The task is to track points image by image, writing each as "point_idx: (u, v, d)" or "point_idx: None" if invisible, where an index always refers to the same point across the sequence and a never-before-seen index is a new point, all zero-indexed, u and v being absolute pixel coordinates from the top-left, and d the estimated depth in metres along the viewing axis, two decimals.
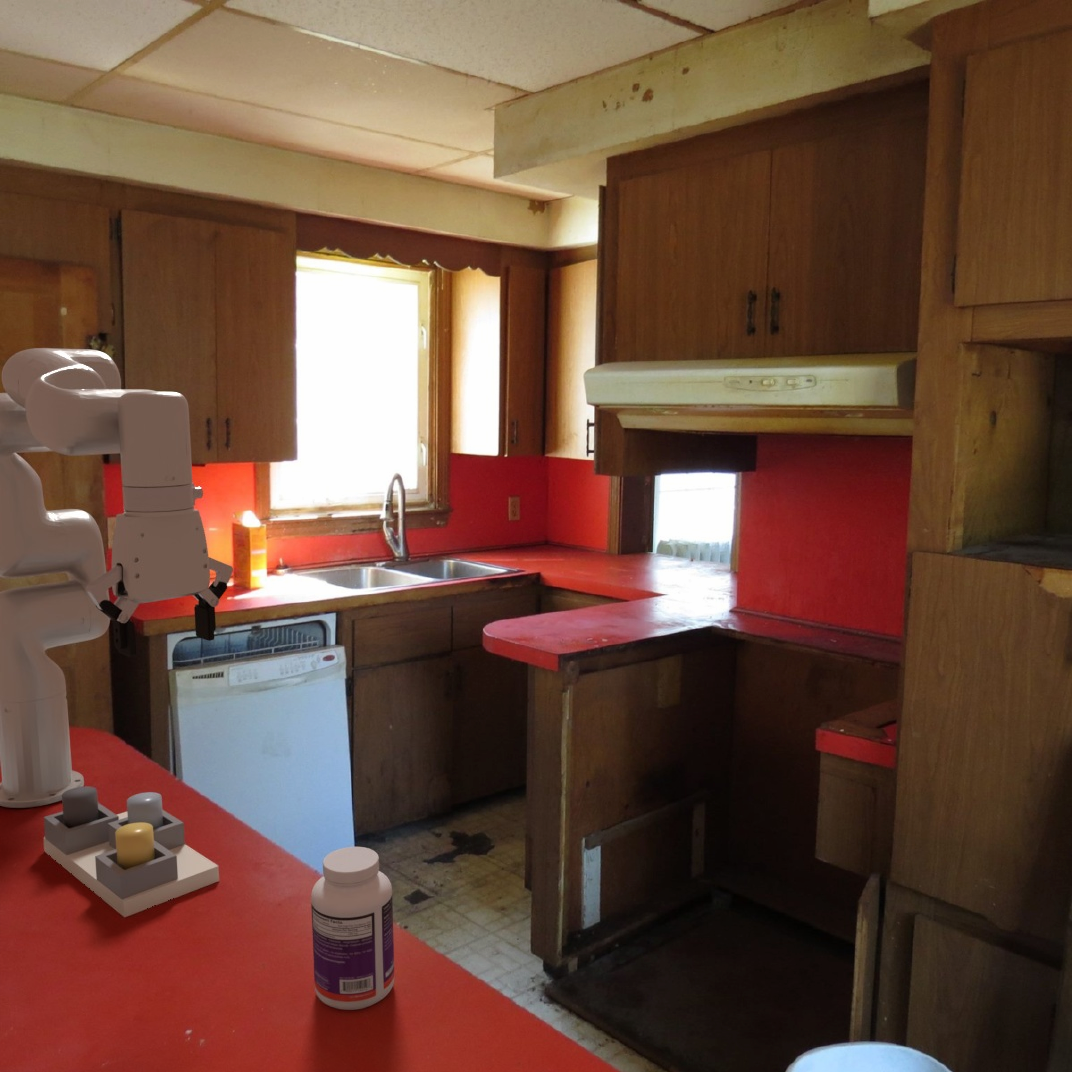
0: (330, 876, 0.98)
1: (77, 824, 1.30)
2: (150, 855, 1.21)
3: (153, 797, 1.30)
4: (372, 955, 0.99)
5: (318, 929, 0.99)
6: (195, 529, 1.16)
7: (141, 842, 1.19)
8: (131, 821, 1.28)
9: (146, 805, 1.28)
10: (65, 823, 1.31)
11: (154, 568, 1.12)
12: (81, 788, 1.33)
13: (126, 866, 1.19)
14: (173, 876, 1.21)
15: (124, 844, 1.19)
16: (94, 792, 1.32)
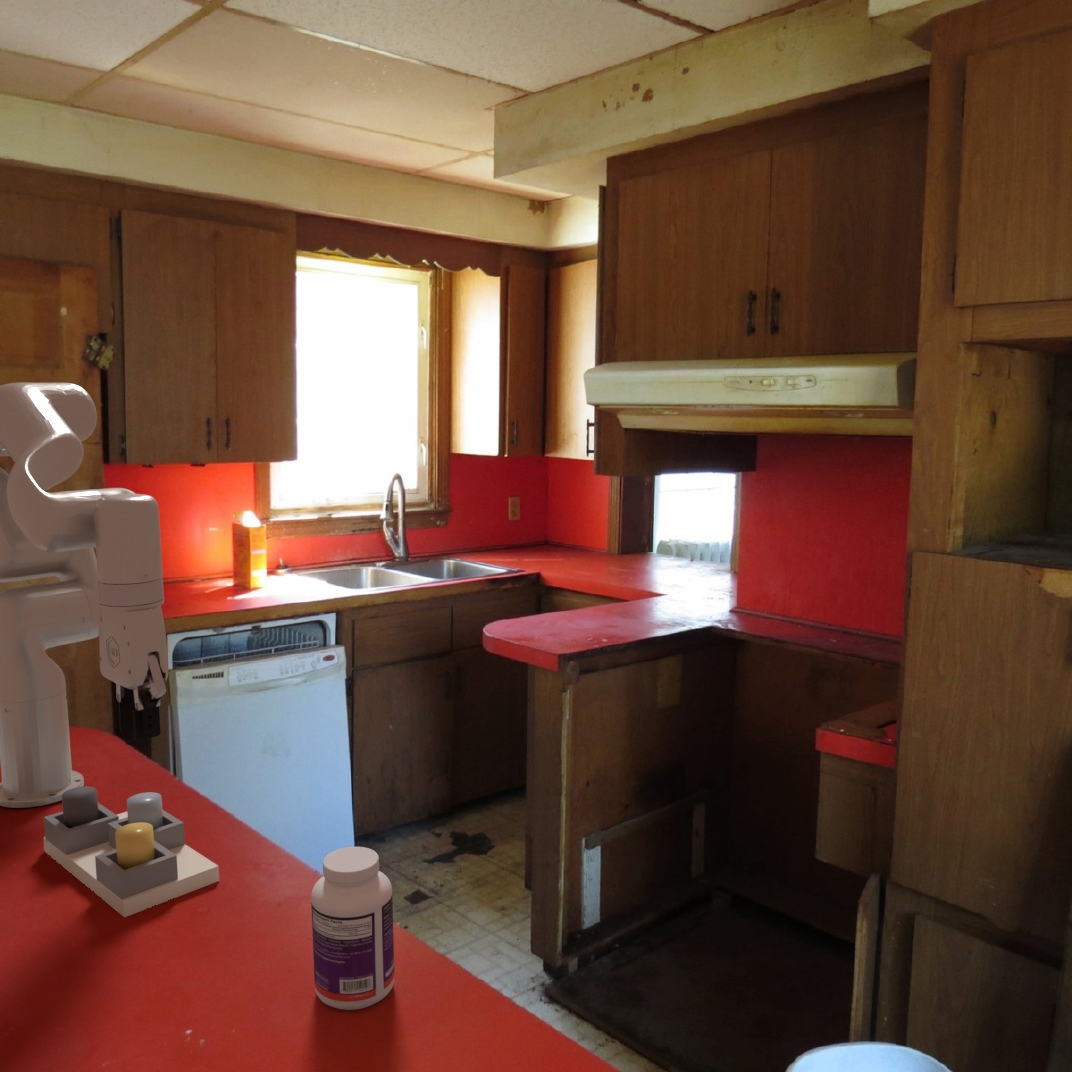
0: (330, 876, 0.98)
1: (77, 824, 1.30)
2: (150, 855, 1.21)
3: (153, 797, 1.30)
4: (372, 955, 0.99)
5: (318, 929, 0.99)
6: None
7: (141, 842, 1.19)
8: (131, 821, 1.28)
9: (146, 805, 1.28)
10: (65, 823, 1.31)
11: None
12: (81, 788, 1.33)
13: (126, 866, 1.19)
14: (173, 876, 1.21)
15: (124, 844, 1.19)
16: (94, 792, 1.32)
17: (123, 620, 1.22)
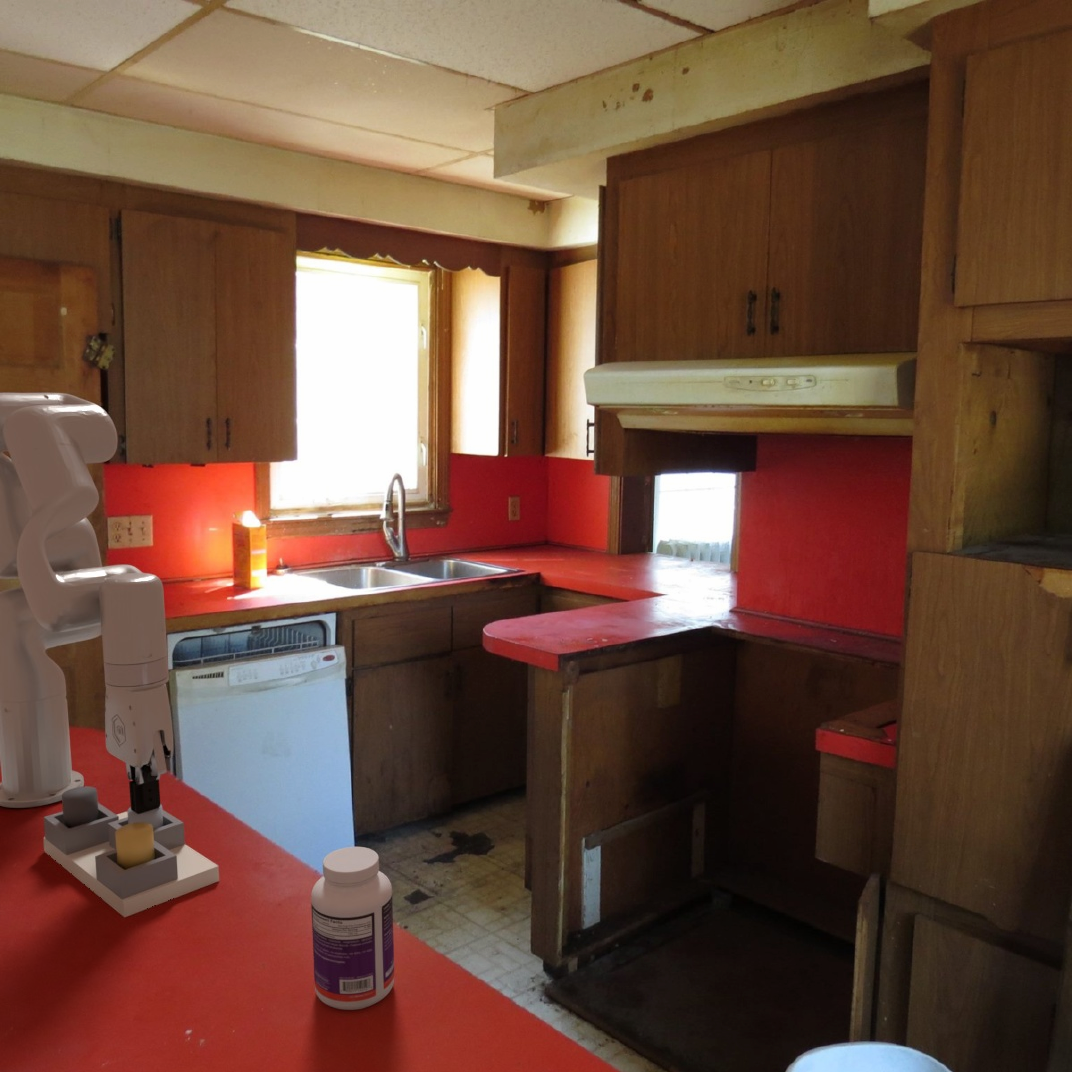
0: (330, 876, 0.98)
1: (77, 824, 1.30)
2: (150, 855, 1.21)
3: None
4: (372, 955, 0.99)
5: (318, 929, 0.99)
6: None
7: (141, 842, 1.19)
8: None
9: (146, 815, 1.28)
10: (65, 823, 1.31)
11: None
12: (81, 788, 1.33)
13: (126, 866, 1.19)
14: (173, 876, 1.21)
15: (124, 844, 1.19)
16: (94, 792, 1.32)
17: (129, 700, 1.24)
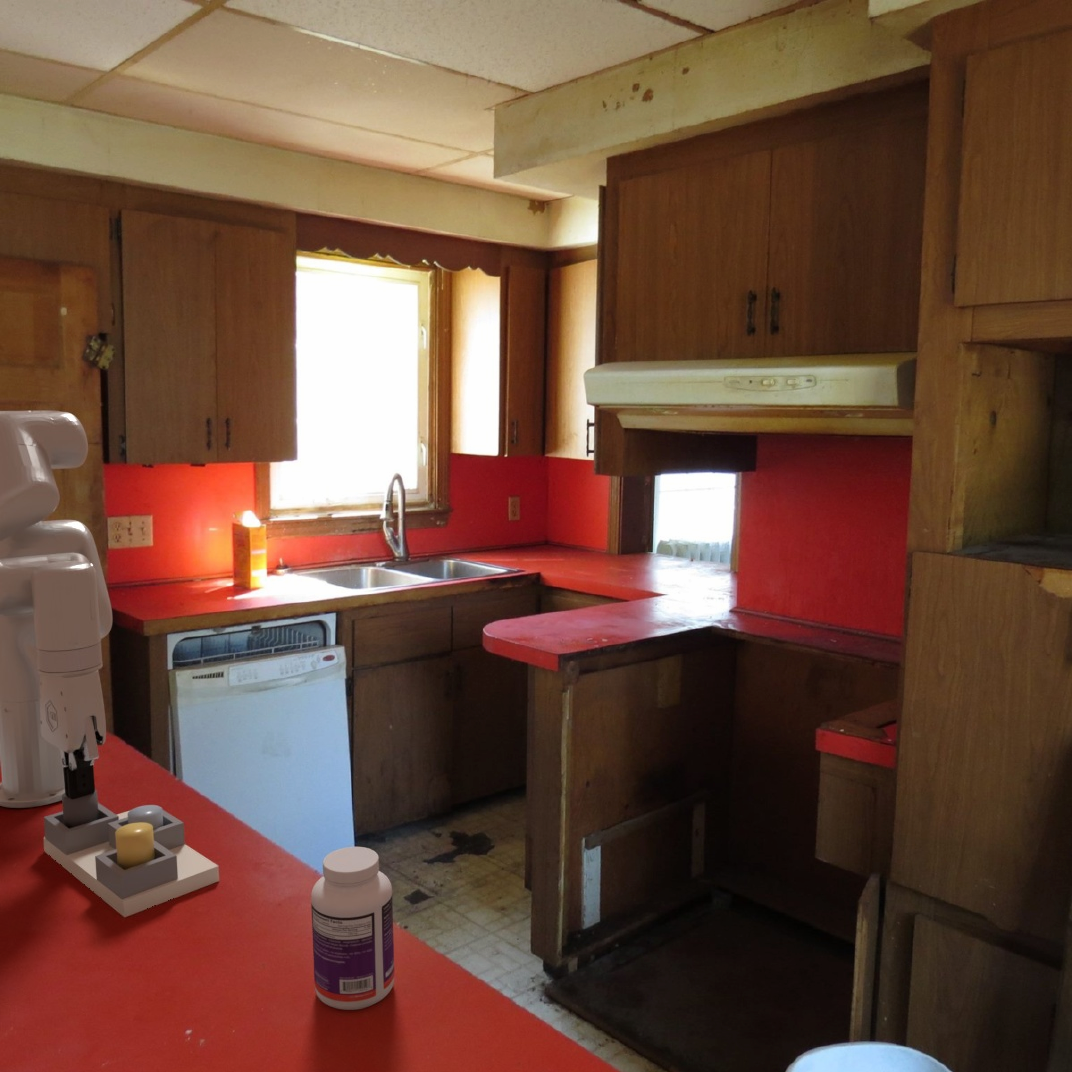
0: (330, 876, 0.98)
1: (77, 825, 1.30)
2: (150, 855, 1.21)
3: (154, 810, 1.30)
4: (372, 955, 0.99)
5: (318, 929, 0.99)
6: None
7: (141, 842, 1.19)
8: None
9: (146, 818, 1.28)
10: (65, 824, 1.31)
11: None
12: None
13: (126, 866, 1.19)
14: (173, 876, 1.21)
15: (124, 844, 1.19)
16: (94, 793, 1.32)
17: (60, 685, 1.25)
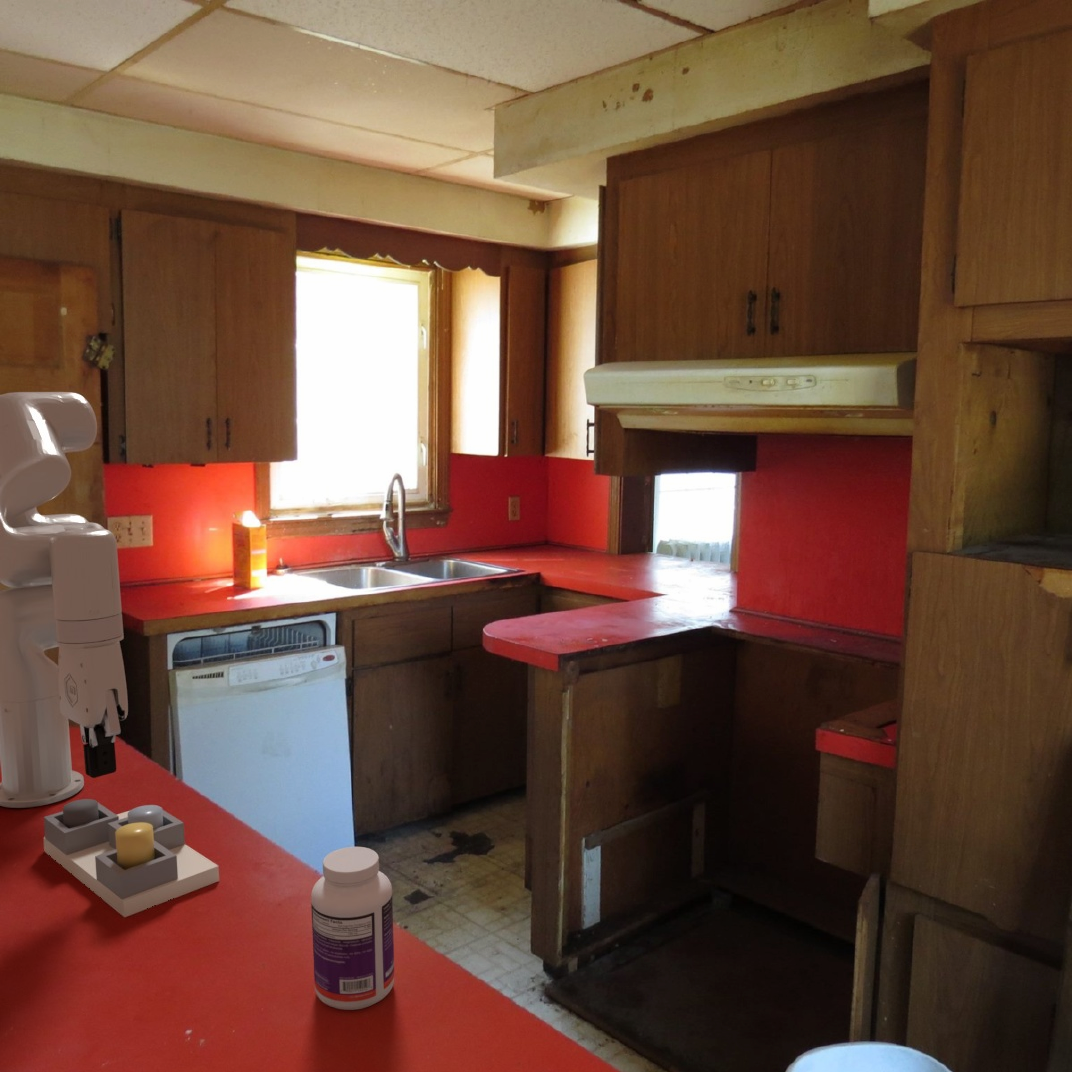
0: (330, 876, 0.98)
1: None
2: (150, 855, 1.21)
3: (154, 810, 1.30)
4: (372, 955, 0.99)
5: (318, 929, 0.99)
6: None
7: (141, 842, 1.19)
8: None
9: (146, 818, 1.28)
10: None
11: None
12: (82, 801, 1.33)
13: (126, 866, 1.19)
14: (173, 876, 1.21)
15: (124, 844, 1.19)
16: (95, 805, 1.32)
17: (80, 657, 1.20)
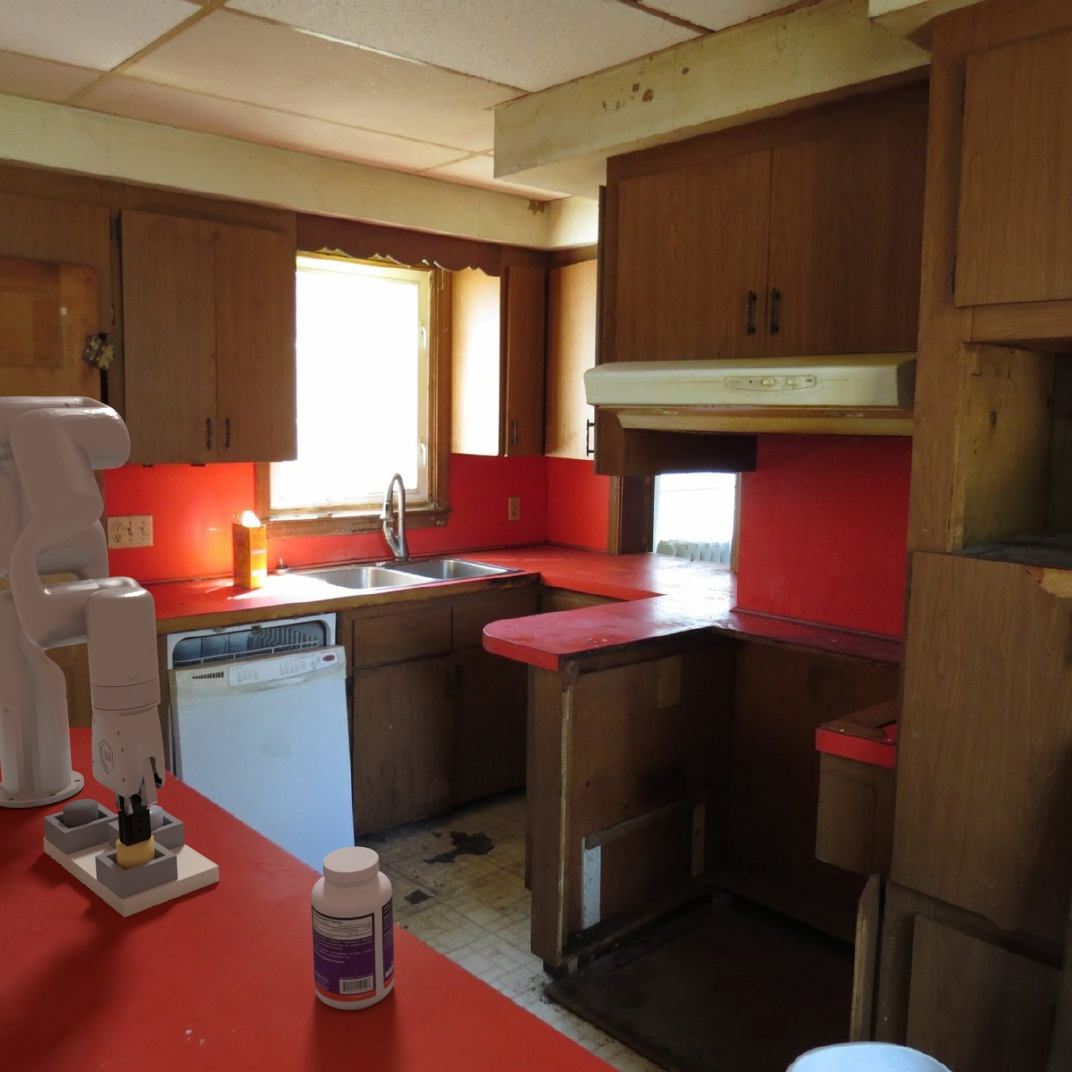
0: (330, 876, 0.98)
1: None
2: None
3: (154, 810, 1.30)
4: (372, 955, 0.99)
5: (318, 929, 0.99)
6: None
7: (142, 853, 1.19)
8: None
9: None
10: None
11: None
12: (82, 801, 1.33)
13: None
14: (173, 876, 1.21)
15: (125, 854, 1.19)
16: (95, 805, 1.32)
17: (117, 724, 1.14)
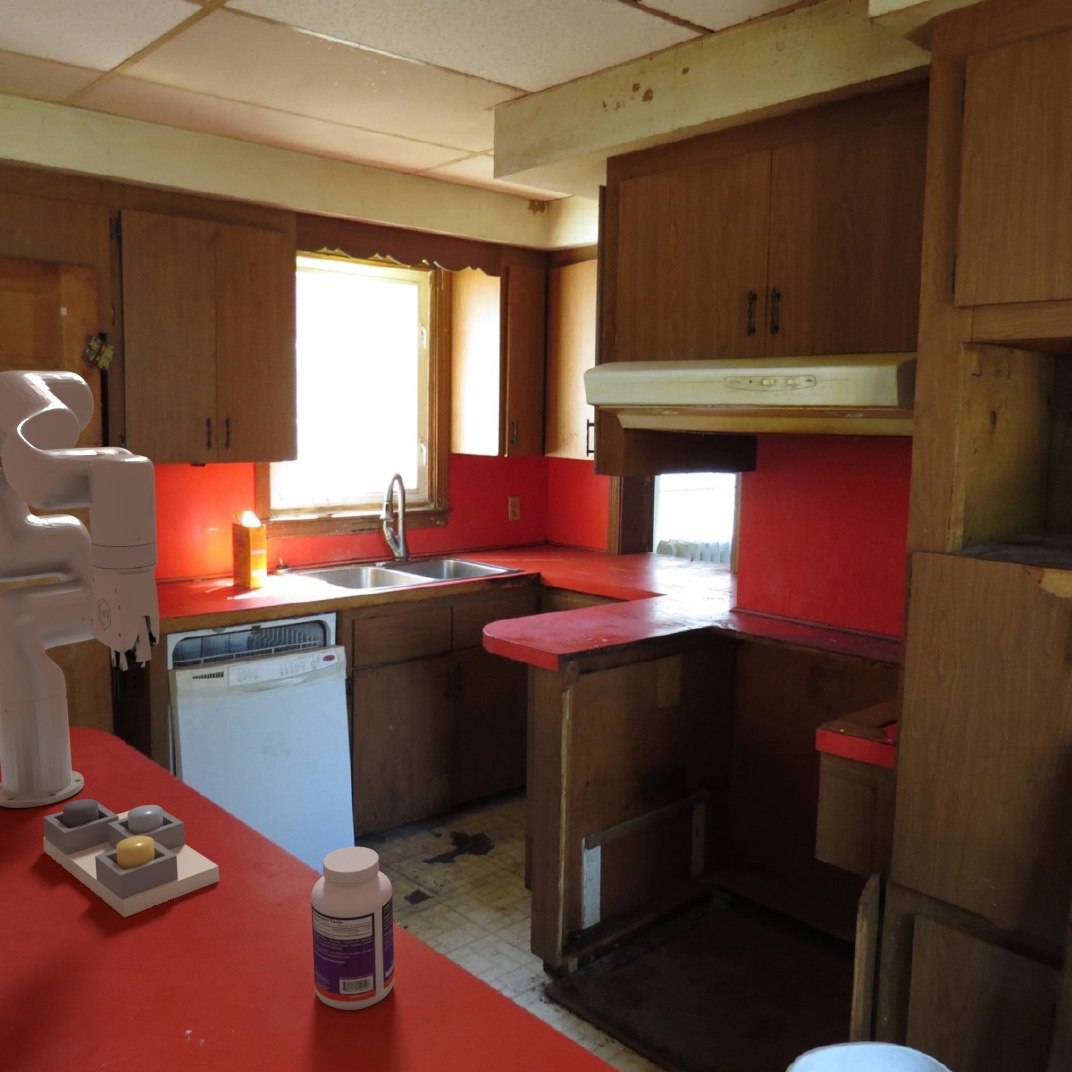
0: (330, 876, 0.98)
1: None
2: None
3: (154, 810, 1.30)
4: (372, 955, 0.99)
5: (318, 929, 0.99)
6: None
7: (142, 856, 1.20)
8: None
9: (146, 818, 1.28)
10: None
11: None
12: (82, 801, 1.33)
13: None
14: (173, 876, 1.21)
15: (125, 858, 1.19)
16: (95, 805, 1.32)
17: (115, 582, 1.20)
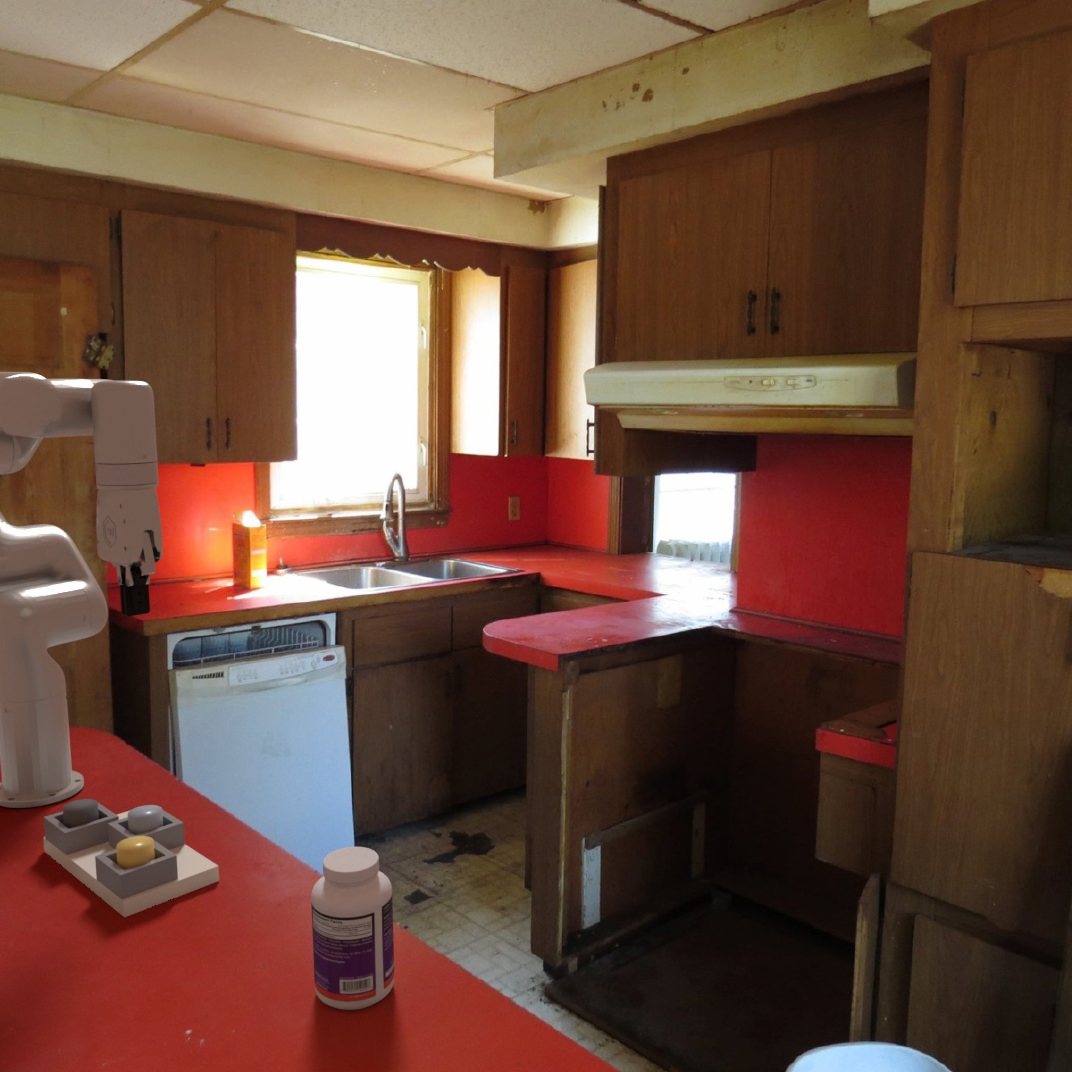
0: (330, 876, 0.98)
1: None
2: None
3: (154, 810, 1.30)
4: (372, 955, 0.99)
5: (318, 929, 0.99)
6: None
7: (142, 856, 1.20)
8: None
9: (146, 818, 1.28)
10: None
11: None
12: (82, 801, 1.33)
13: None
14: (173, 876, 1.21)
15: (125, 858, 1.19)
16: (95, 805, 1.32)
17: (119, 498, 1.27)
